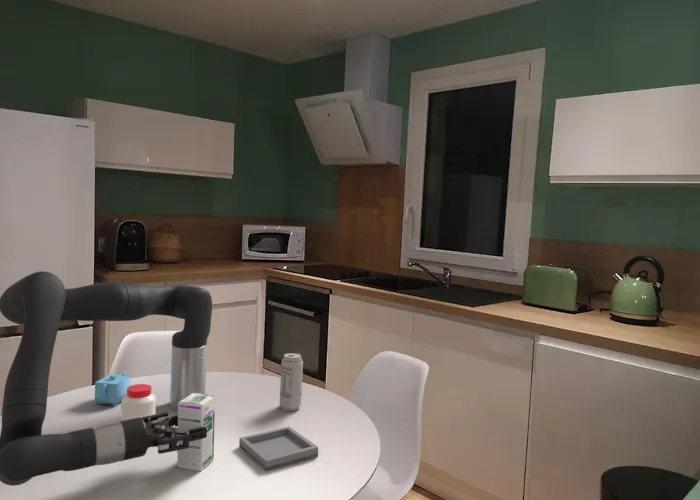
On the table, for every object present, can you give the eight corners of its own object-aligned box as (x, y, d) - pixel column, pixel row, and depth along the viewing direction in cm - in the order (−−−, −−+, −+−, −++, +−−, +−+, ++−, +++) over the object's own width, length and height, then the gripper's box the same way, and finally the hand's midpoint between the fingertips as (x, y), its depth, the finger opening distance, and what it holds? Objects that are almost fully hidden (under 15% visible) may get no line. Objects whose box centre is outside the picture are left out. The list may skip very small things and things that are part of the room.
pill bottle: (162, 430, 128) (163, 386, 127) (137, 441, 121) (138, 395, 120) (138, 423, 131) (140, 380, 131) (113, 434, 124) (114, 389, 124)
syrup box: (201, 472, 109) (204, 404, 108) (175, 467, 110) (177, 400, 109) (214, 459, 115) (216, 395, 114) (189, 455, 116) (191, 391, 115)
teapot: (116, 392, 152) (116, 367, 151) (136, 394, 151) (136, 369, 150) (91, 407, 140) (91, 380, 139) (112, 409, 139) (113, 382, 139)
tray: (239, 446, 121) (239, 437, 121) (288, 434, 129) (289, 426, 129) (265, 471, 111) (266, 461, 111) (317, 456, 119) (318, 447, 119)
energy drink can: (304, 409, 146) (307, 357, 145) (285, 413, 143) (288, 359, 142) (294, 402, 151) (296, 351, 150) (275, 405, 148) (278, 353, 147)
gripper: (128, 436, 96) (212, 419, 106) (110, 410, 108) (187, 397, 118) (127, 475, 97) (211, 454, 107) (109, 445, 108) (186, 429, 118)
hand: (198, 424), depth 112 cm, fingers open, 8 cm apart
